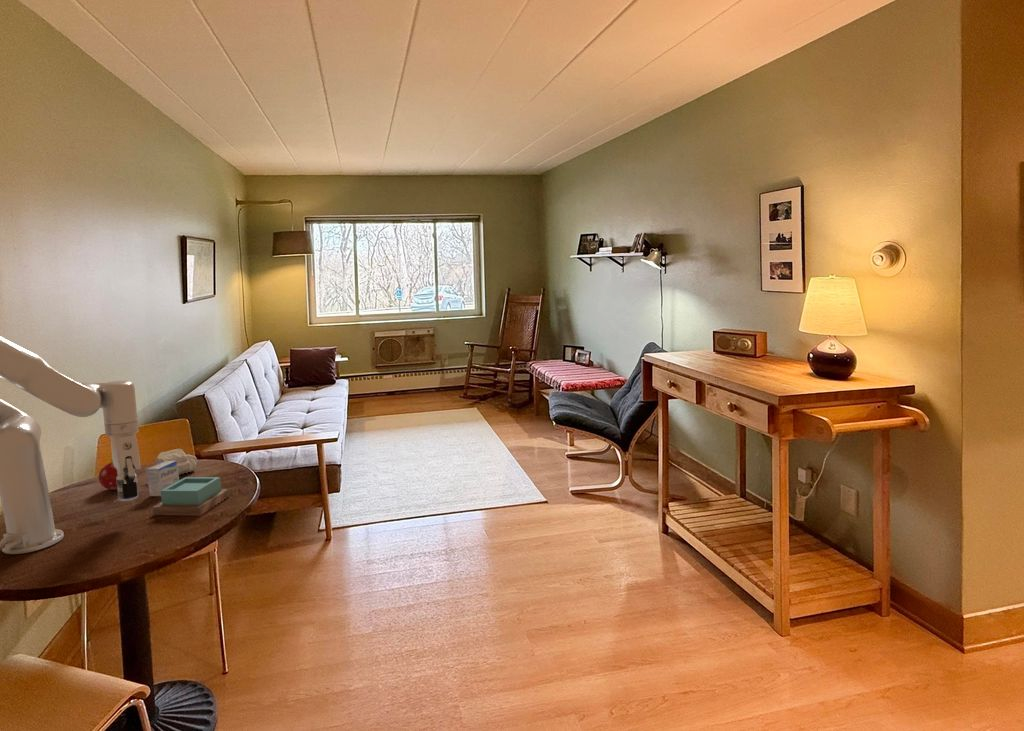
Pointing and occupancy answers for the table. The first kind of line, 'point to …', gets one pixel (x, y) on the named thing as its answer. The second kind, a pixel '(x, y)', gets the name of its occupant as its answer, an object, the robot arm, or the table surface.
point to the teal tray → (191, 491)
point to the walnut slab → (191, 506)
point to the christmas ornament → (108, 476)
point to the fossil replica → (178, 460)
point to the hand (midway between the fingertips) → (128, 493)
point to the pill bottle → (119, 486)
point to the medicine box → (162, 476)
